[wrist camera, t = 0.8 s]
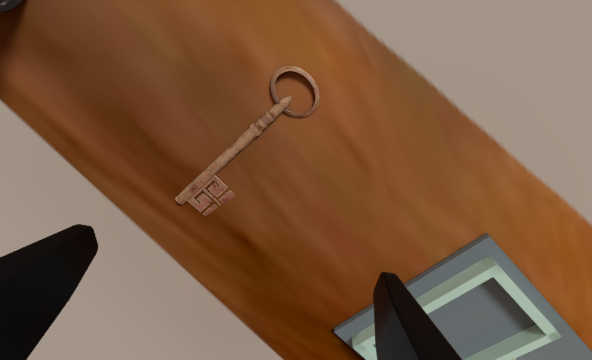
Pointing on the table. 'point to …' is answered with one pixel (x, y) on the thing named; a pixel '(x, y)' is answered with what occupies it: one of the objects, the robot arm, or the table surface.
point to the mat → (481, 309)
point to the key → (240, 149)
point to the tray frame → (496, 356)
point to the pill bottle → (8, 4)
